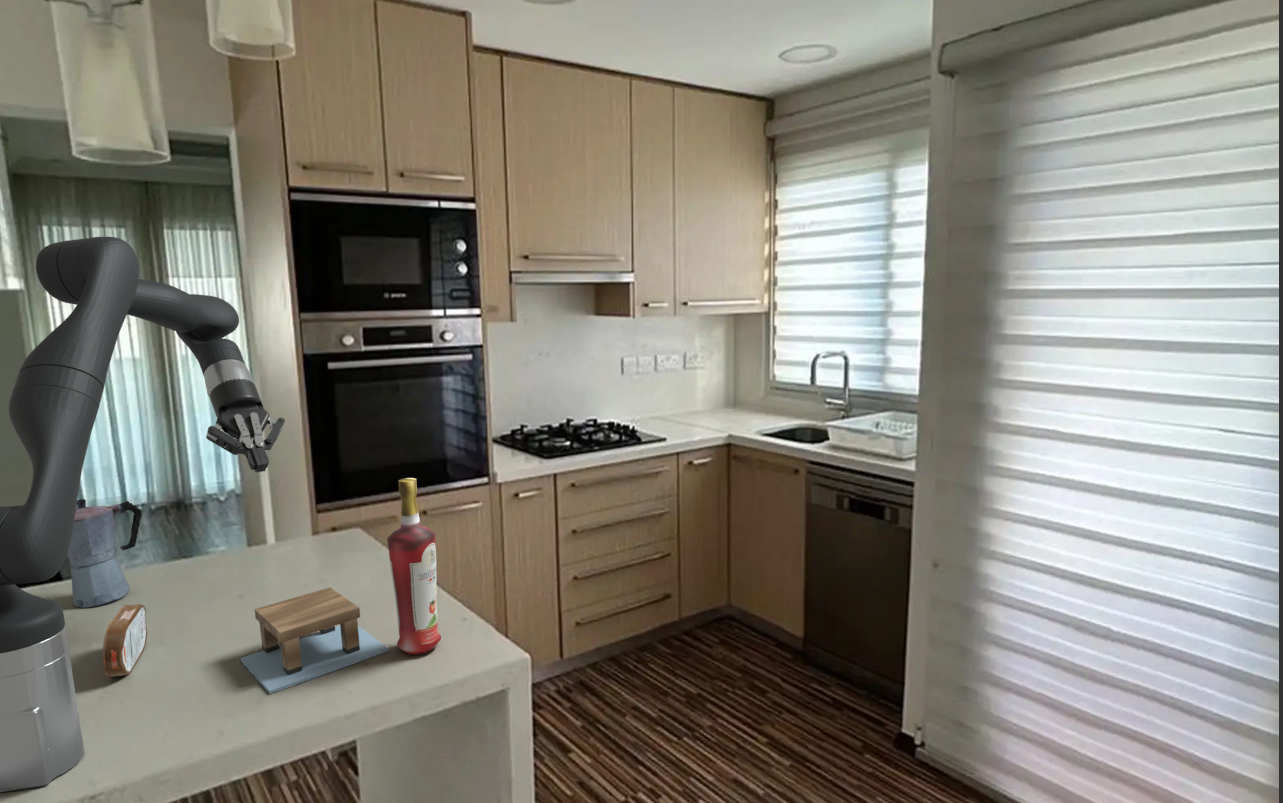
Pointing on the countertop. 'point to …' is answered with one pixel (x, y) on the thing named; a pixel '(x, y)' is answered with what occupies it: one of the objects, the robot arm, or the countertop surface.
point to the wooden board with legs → (307, 624)
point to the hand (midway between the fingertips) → (261, 469)
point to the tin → (124, 640)
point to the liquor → (414, 576)
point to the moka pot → (98, 554)
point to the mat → (311, 659)
